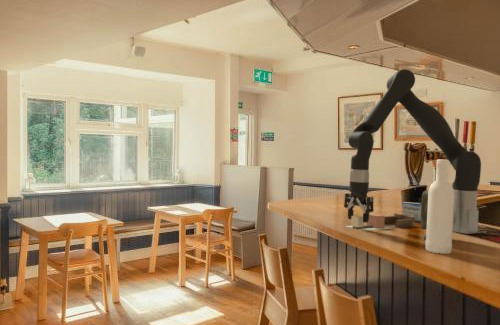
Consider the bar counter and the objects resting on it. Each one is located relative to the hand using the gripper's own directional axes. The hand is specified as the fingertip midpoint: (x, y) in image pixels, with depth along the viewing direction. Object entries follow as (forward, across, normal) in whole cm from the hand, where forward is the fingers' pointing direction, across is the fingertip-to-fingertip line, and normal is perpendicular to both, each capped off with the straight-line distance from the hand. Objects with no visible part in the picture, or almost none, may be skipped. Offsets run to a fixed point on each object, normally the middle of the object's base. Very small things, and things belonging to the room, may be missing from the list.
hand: (357, 220), depth 171 cm
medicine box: (+4, +7, -40) cm, 41 cm away
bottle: (+4, -38, 0) cm, 38 cm away
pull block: (+3, 0, -6) cm, 6 cm away
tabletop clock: (+4, -25, -16) cm, 30 cm away
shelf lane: (+4, 0, -13) cm, 14 cm away
